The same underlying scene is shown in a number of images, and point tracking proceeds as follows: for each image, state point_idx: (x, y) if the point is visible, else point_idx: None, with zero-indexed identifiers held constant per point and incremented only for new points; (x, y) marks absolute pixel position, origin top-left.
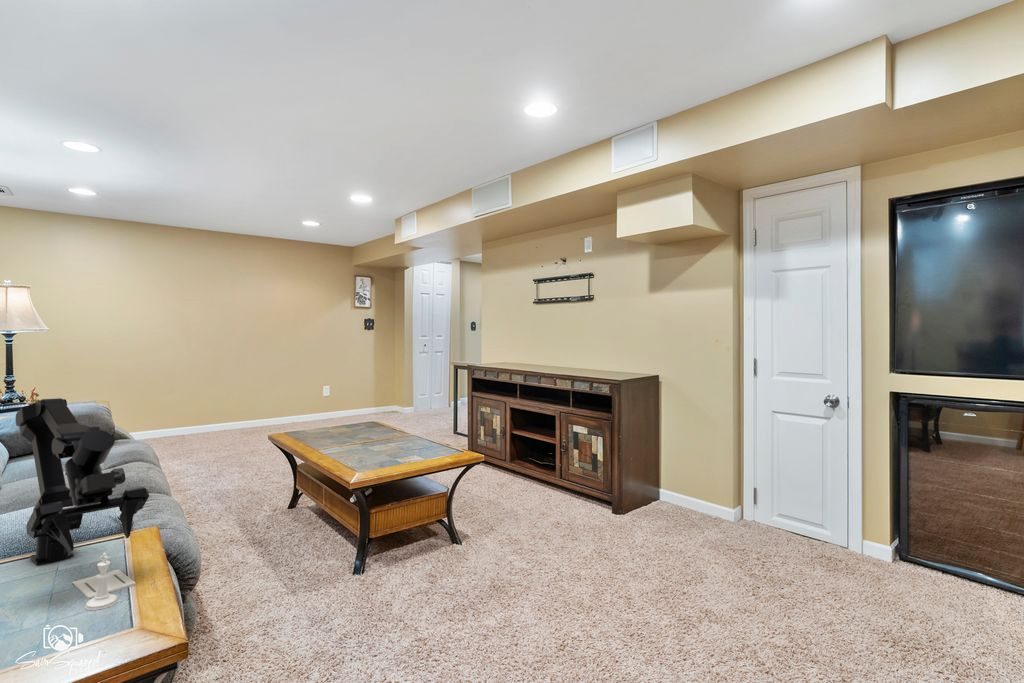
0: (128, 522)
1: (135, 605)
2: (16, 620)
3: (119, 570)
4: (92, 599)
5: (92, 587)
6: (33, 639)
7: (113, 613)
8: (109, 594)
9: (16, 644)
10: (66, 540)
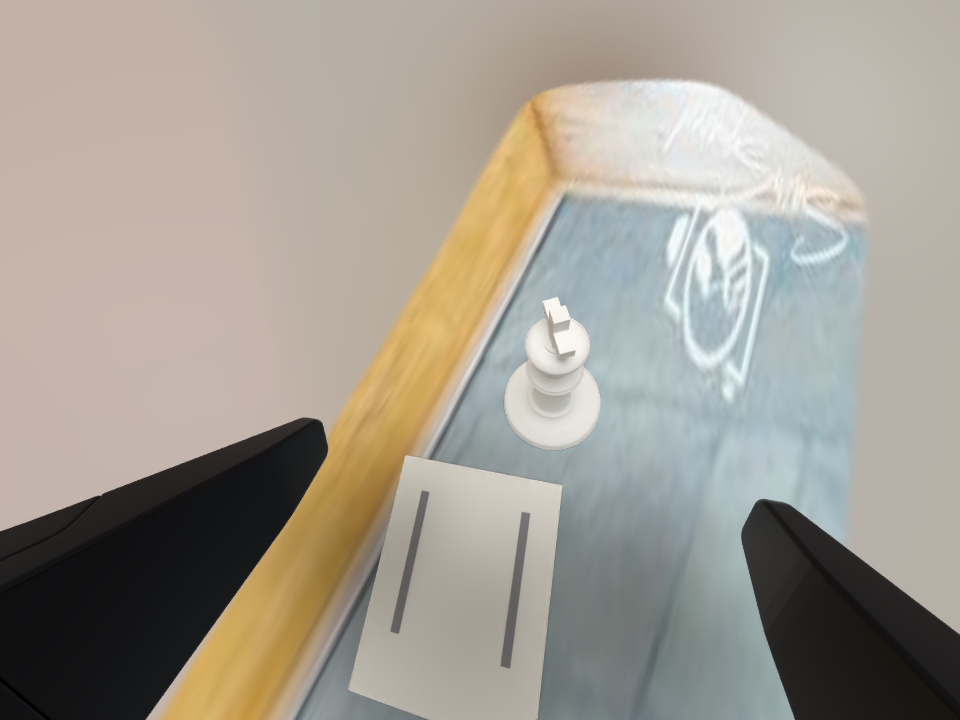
0: (176, 484)
1: (496, 303)
2: None
3: (354, 665)
4: (575, 417)
5: (511, 574)
6: (785, 329)
7: None
8: (518, 410)
9: (835, 338)
10: (928, 614)
